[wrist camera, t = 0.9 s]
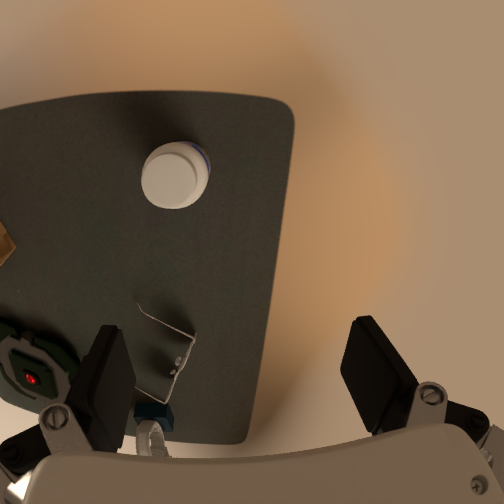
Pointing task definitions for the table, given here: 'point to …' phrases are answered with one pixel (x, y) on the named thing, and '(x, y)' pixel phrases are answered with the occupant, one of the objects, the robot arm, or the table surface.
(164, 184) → the pill bottle
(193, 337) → the sunglasses
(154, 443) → the watch
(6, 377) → the dark green landmine
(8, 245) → the socket
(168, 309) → the table surface
